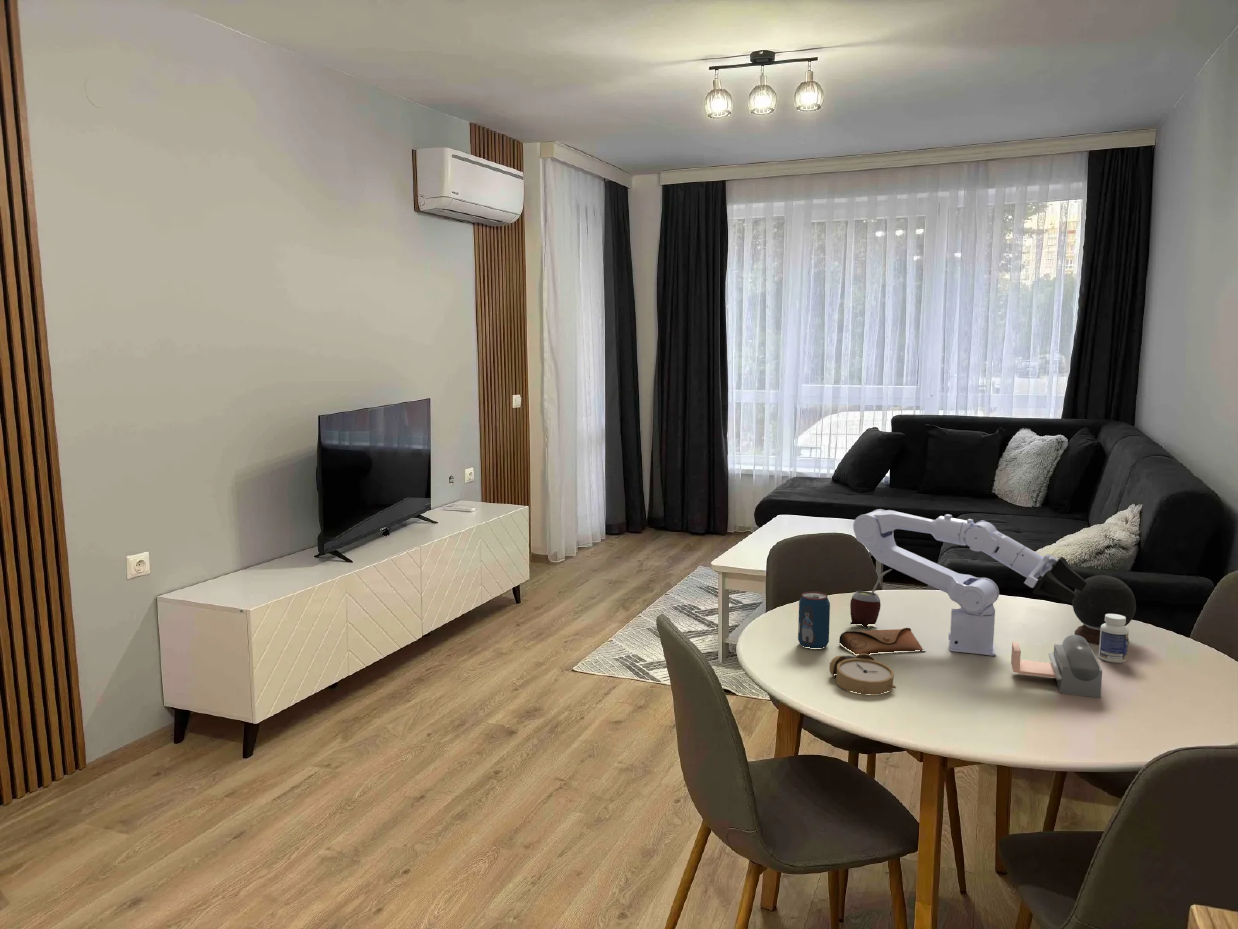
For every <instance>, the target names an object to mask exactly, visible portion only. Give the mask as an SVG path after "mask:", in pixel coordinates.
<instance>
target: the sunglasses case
mask: <svg viewBox="0 0 1238 929" xmlns="http://www.w3.org/2000/svg"><path fill="white" fill-rule="evenodd" d="M838 643H841V644H842V645H843V646H844V647H846V648H847V649H849V650H851V651H852V652H854V653H855V654H870V653H878V652H894V651H915V650H920V651H922V650H925V649H923V647H922V646H921V644H920V642H919V640H917V638H916V637H915V634H914V633H913V631H912V629H911V628H910V627H904V628H897V629H895V628H894V629H876V630H875V629H874V630H864V631H863V630H862V631H861V630H848V631H844V632H843V633H841V634H840V636H839V642H838Z"/></svg>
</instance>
